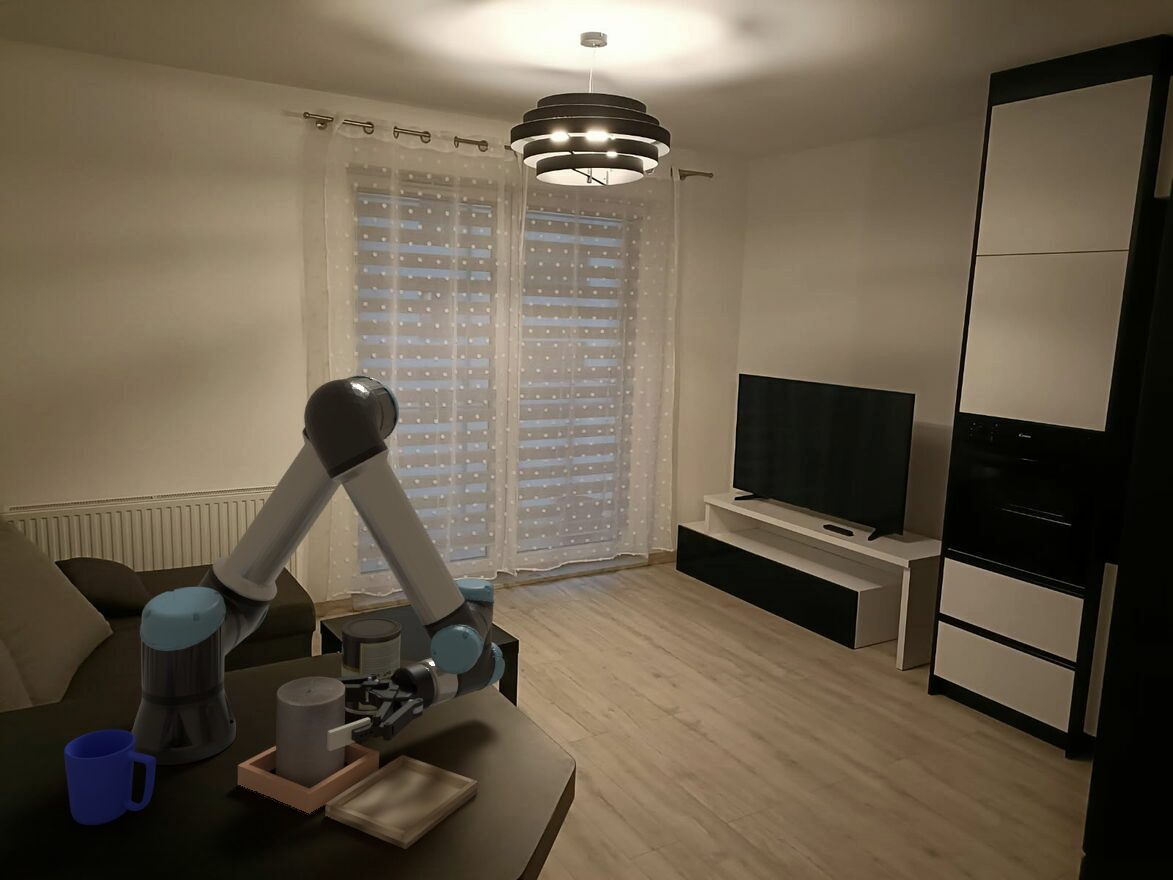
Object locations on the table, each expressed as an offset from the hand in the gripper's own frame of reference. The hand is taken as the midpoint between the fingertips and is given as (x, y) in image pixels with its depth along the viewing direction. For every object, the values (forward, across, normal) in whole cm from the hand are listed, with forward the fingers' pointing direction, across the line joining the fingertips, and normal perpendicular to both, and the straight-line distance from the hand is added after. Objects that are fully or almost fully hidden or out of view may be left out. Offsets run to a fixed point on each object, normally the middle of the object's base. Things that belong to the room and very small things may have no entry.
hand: (303, 724), depth 121 cm
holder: (-1, 0, -9) cm, 9 cm away
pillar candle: (-1, 0, -9) cm, 9 cm away
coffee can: (-22, +16, -9) cm, 29 cm away
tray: (-7, -15, -9) cm, 19 cm away
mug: (+22, +9, -9) cm, 26 cm away
